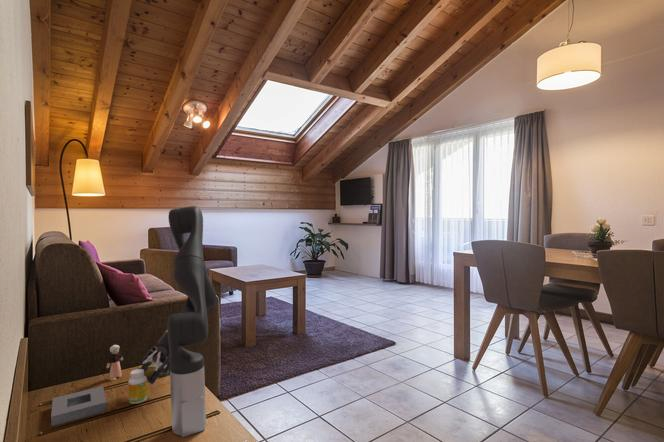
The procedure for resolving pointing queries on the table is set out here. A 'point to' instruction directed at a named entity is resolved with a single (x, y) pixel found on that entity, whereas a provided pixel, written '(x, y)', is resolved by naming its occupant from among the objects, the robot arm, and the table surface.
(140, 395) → the supplement bottle
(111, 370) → the grandmother figurine
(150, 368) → the medication box
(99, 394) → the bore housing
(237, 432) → the table surface
